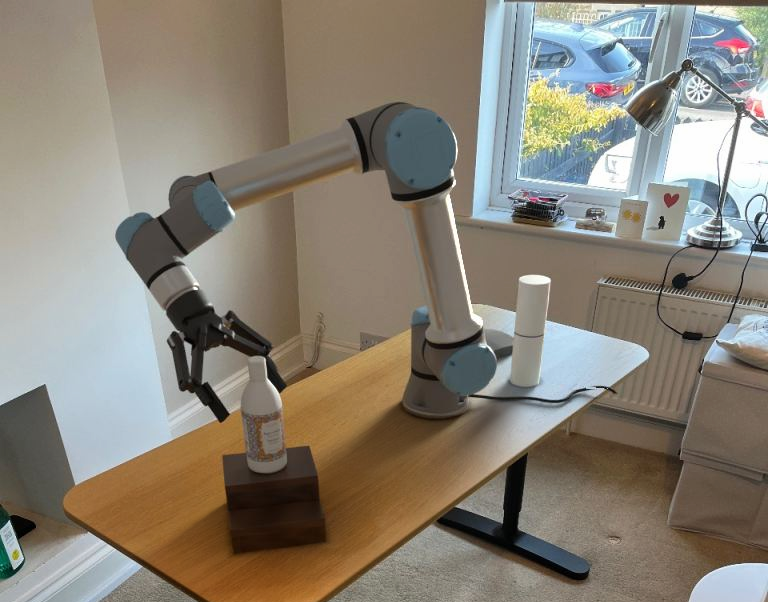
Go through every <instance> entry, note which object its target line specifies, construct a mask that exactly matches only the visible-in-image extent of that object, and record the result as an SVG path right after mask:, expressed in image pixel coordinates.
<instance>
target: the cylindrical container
mask: <svg viewBox="0 0 768 602" xmlns="http://www.w3.org/2000/svg"><path fill="white" fill-rule="evenodd" d="M551 284H552V280H551V278H550V277H548V276H545V275H541V274H525V275H522V276H520V277H519V278H518V287H517V298H516V308H515V321H514V328H513V329H514V331H513V338H514V341H513V352H512V353H511V364H510V375H509V382H510V383H511V384H512V385H514V386H516V387H517V386H518V387H523V388H530V387H535V386H537V385H539V383H540V377H541V370H542V369H541V368H542V360H543V358H542V357H543V353H544V344H545V343H544V342H545V334H546V328H547V327H546V325H547V318H548V317H547V316H548V308H549V300H550V298H549V297H550V290H551Z"/></svg>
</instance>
